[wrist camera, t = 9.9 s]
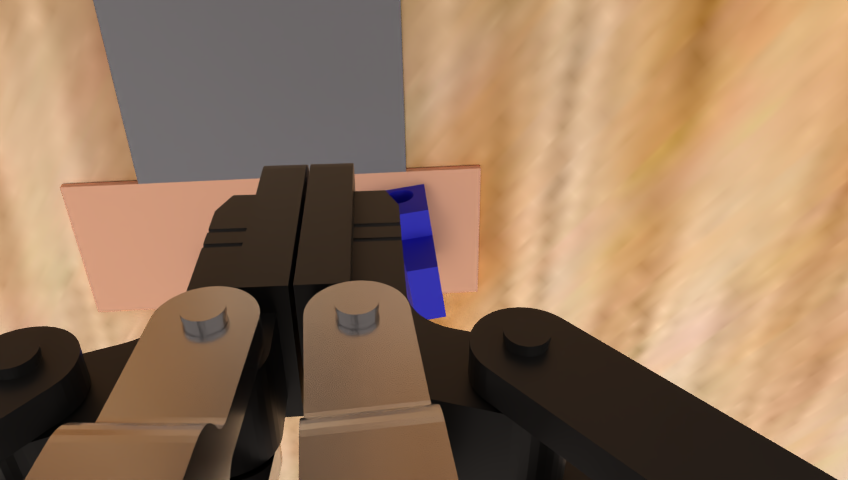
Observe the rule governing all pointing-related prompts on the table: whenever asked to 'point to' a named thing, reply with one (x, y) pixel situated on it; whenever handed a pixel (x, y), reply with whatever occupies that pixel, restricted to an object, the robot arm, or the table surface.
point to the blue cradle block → (419, 252)
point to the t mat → (249, 131)
